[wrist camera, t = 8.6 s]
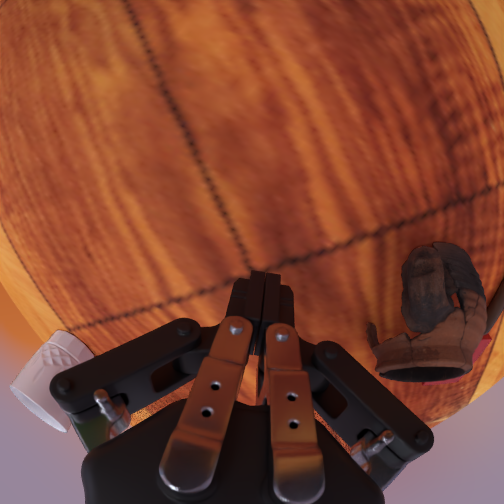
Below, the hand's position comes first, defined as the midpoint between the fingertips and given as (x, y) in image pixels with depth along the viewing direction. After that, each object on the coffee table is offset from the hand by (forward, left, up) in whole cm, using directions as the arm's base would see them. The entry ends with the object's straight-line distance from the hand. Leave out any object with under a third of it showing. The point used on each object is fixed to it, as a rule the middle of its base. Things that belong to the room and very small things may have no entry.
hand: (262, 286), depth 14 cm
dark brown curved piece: (+1, +12, -4) cm, 12 cm away
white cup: (+17, -20, -4) cm, 27 cm away
